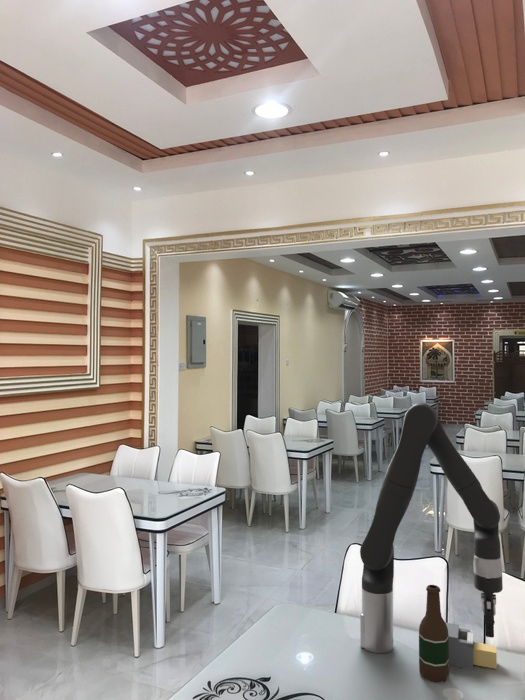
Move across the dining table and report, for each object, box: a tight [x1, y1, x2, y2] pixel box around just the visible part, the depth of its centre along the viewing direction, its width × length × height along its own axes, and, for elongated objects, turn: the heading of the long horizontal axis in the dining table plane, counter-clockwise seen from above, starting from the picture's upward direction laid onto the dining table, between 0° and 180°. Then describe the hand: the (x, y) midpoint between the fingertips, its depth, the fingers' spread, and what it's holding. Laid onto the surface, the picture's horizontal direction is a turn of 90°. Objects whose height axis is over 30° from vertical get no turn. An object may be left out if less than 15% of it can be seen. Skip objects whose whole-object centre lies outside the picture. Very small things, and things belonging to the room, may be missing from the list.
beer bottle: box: [418, 584, 450, 684], centre depth 150 cm, size 8×8×24 cm
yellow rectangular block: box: [473, 641, 498, 670], centre depth 155 cm, size 9×4×4 cm, turn 68°
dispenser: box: [445, 621, 475, 670], centre depth 158 cm, size 12×8×8 cm
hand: (489, 629), depth 155 cm, fingers open, 8 cm apart
